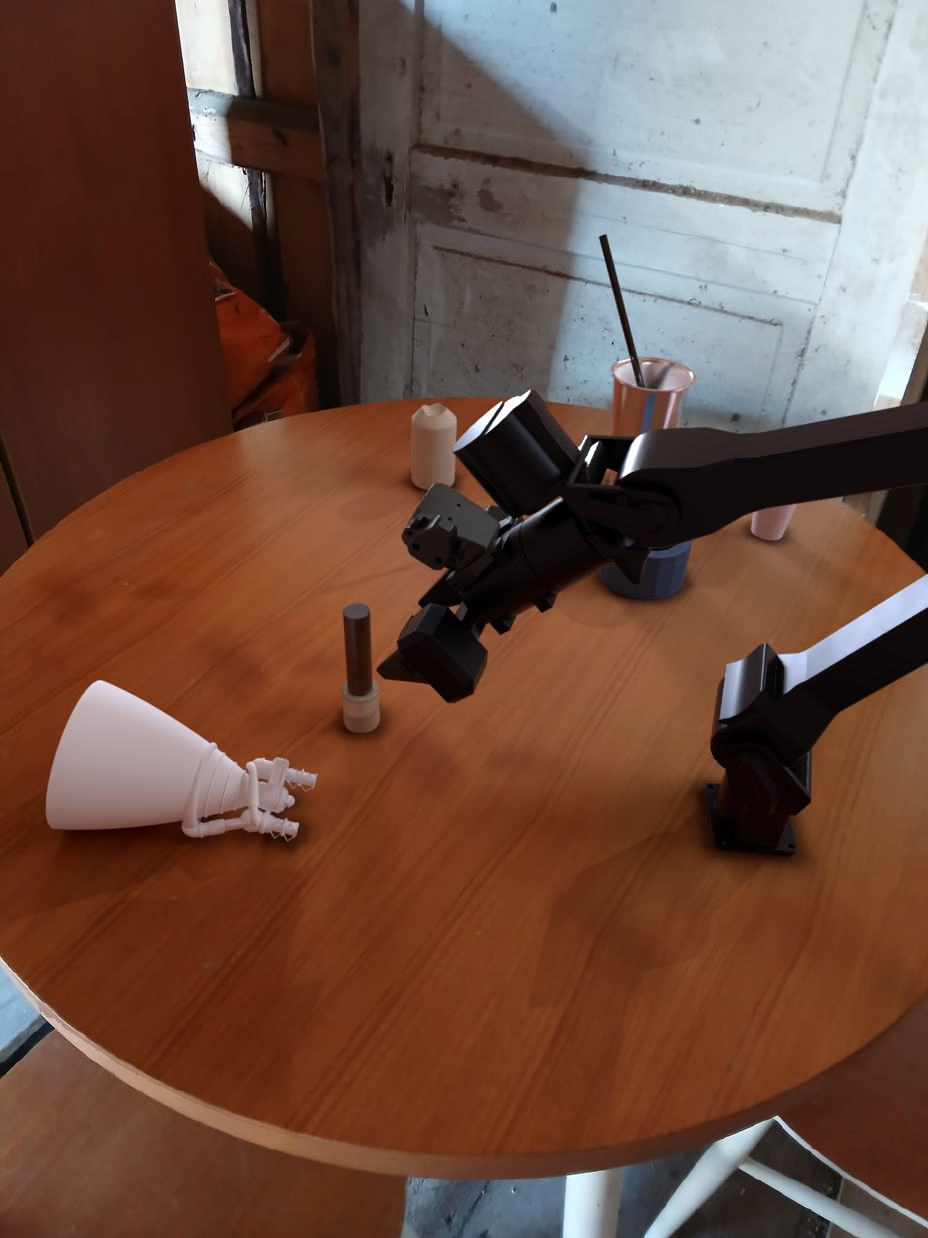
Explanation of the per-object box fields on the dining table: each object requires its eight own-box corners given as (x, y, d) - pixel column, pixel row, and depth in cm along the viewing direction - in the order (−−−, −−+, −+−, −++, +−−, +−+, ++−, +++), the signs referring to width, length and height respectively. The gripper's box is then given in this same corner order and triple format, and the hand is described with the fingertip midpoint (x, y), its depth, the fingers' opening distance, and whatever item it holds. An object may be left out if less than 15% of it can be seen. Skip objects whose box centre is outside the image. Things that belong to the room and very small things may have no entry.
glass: (569, 474, 118) (597, 233, 100) (641, 459, 122) (681, 224, 103) (613, 514, 110) (653, 262, 92) (689, 497, 114) (741, 251, 96)
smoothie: (796, 550, 106) (830, 441, 97) (740, 542, 106) (769, 434, 98) (792, 521, 111) (824, 416, 102) (738, 514, 111) (766, 409, 103)
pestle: (376, 735, 80) (372, 624, 72) (340, 732, 80) (333, 621, 72) (382, 709, 82) (378, 600, 75) (347, 707, 82) (340, 597, 75)
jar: (687, 603, 97) (697, 560, 93) (601, 596, 97) (607, 554, 94) (677, 555, 104) (686, 514, 101) (597, 549, 104) (603, 508, 101)
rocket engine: (327, 731, 66) (81, 672, 65) (285, 890, 64) (29, 833, 62) (328, 737, 78) (119, 687, 76) (293, 873, 75) (76, 824, 74)
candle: (405, 486, 114) (405, 413, 108) (419, 466, 118) (420, 395, 112) (447, 494, 113) (449, 420, 107) (460, 474, 117) (462, 402, 111)
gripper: (510, 412, 69) (379, 508, 78) (427, 537, 55) (279, 636, 64) (598, 521, 72) (462, 601, 81) (540, 665, 58) (384, 741, 67)
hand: (402, 638), depth 74 cm, fingers open, 9 cm apart
